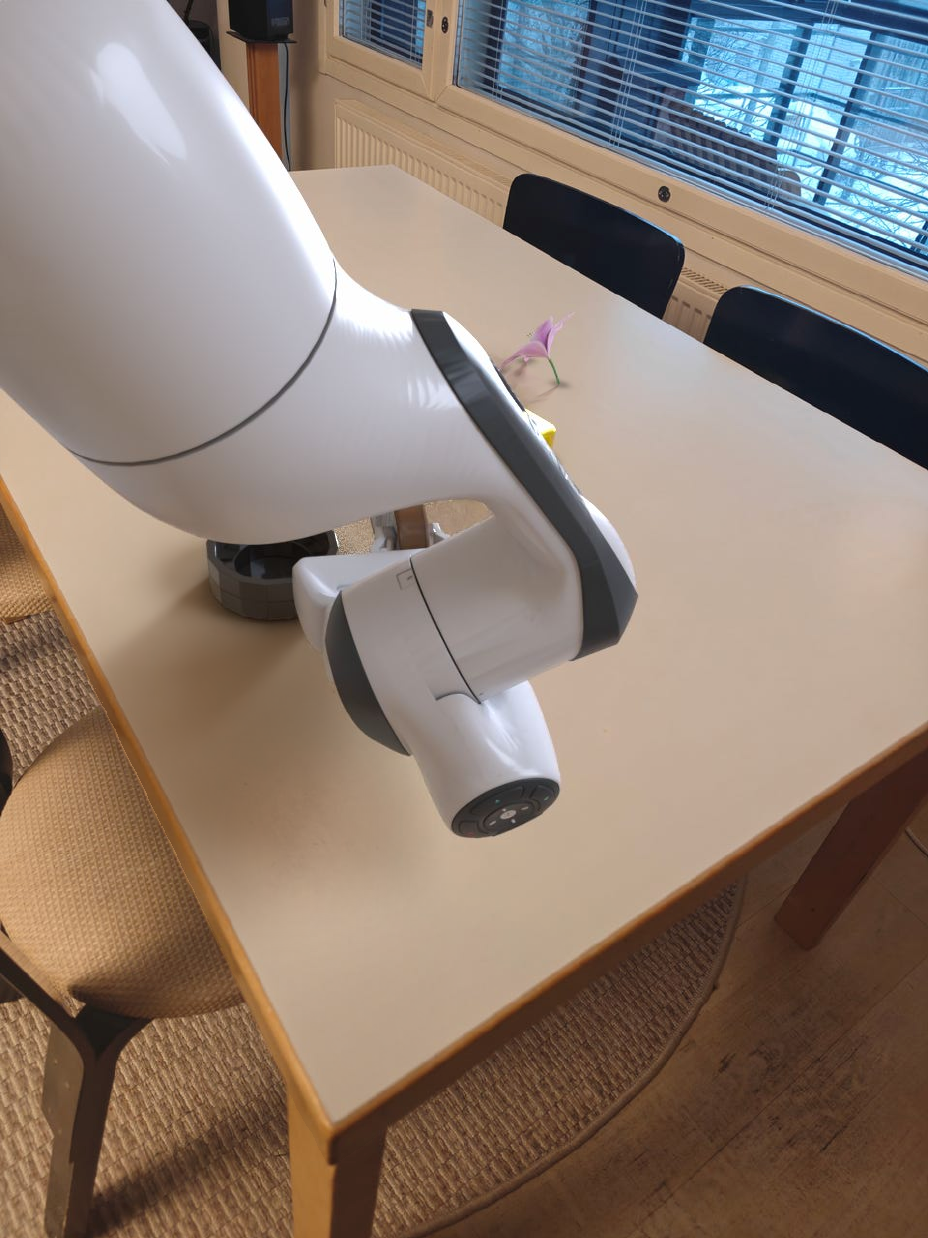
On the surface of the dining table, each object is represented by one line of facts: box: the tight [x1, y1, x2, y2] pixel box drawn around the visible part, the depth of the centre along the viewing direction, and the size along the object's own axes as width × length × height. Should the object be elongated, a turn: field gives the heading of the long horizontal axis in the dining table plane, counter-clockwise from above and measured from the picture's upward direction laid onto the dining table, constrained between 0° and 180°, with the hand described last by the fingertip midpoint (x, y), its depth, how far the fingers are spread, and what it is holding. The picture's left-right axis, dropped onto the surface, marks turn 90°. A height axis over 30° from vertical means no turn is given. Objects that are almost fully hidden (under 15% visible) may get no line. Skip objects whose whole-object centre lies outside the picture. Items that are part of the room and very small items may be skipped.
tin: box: [369, 504, 430, 551], centre depth 76 cm, size 15×3×8 cm, turn 15°
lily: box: [497, 311, 576, 385], centre depth 118 cm, size 12×12×10 cm
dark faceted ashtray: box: [205, 529, 340, 621], centre depth 79 cm, size 12×12×4 cm
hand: (405, 531), depth 73 cm, fingers closed on tin, 2 cm apart
